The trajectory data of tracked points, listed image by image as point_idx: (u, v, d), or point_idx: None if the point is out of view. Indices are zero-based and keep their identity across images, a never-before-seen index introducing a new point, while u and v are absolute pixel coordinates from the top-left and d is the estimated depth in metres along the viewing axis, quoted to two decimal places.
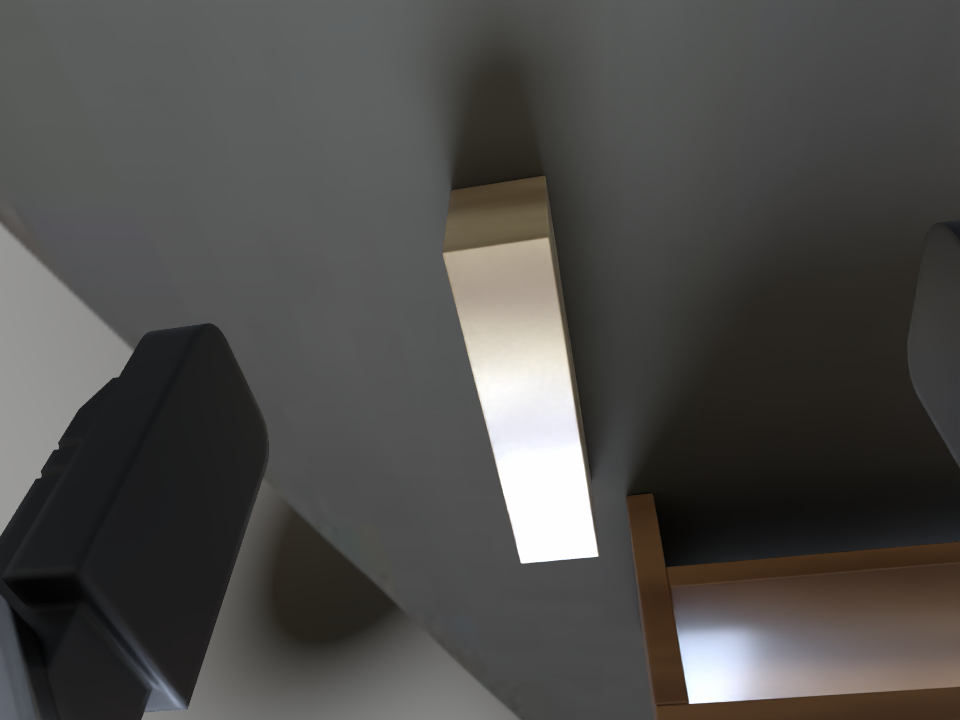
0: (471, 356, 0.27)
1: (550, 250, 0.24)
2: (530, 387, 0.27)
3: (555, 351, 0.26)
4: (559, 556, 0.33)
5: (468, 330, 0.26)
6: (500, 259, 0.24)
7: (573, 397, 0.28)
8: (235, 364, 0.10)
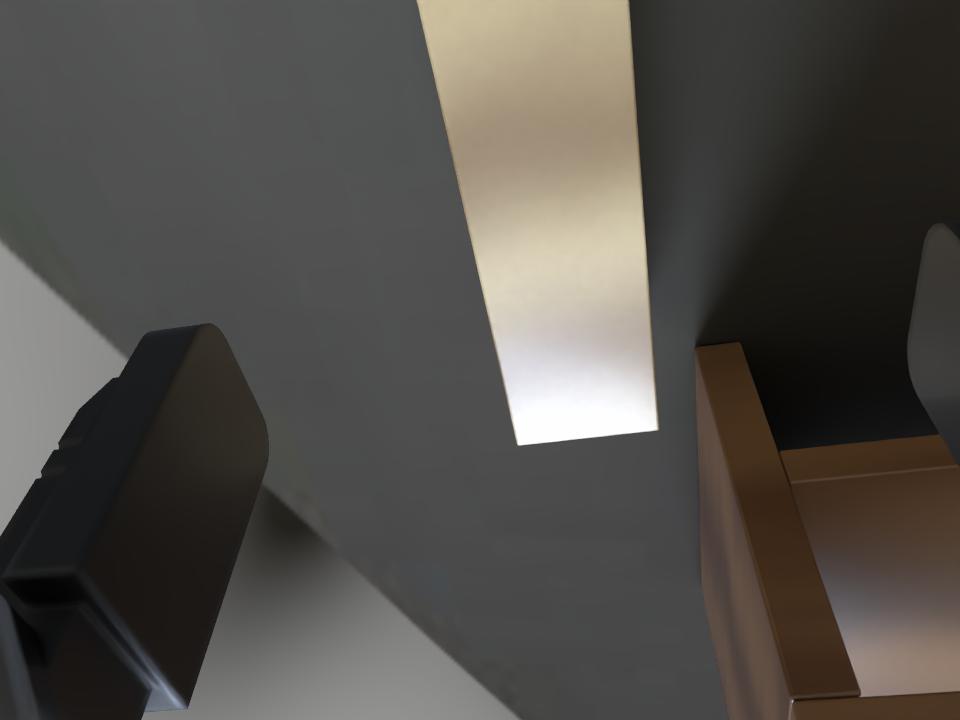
0: None
1: None
2: (535, 11, 0.13)
3: None
4: (587, 429, 0.18)
5: None
6: None
7: (629, 40, 0.13)
8: (235, 364, 0.10)
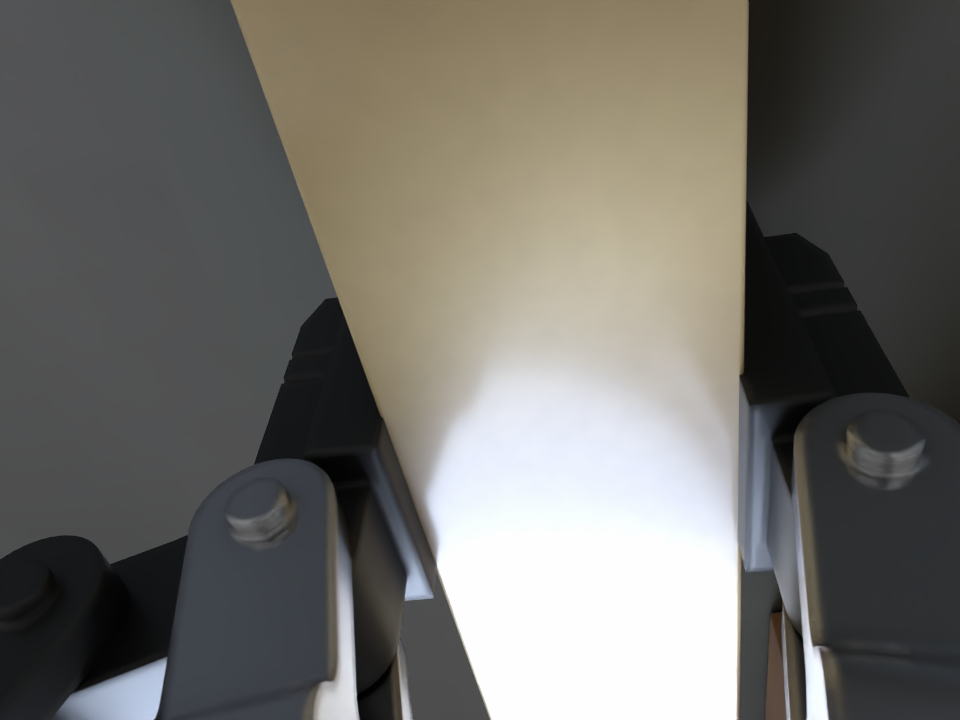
0: (305, 175, 0.06)
1: None
2: (567, 326, 0.07)
3: (695, 144, 0.06)
4: None
5: (269, 22, 0.05)
6: None
7: (740, 366, 0.07)
8: None
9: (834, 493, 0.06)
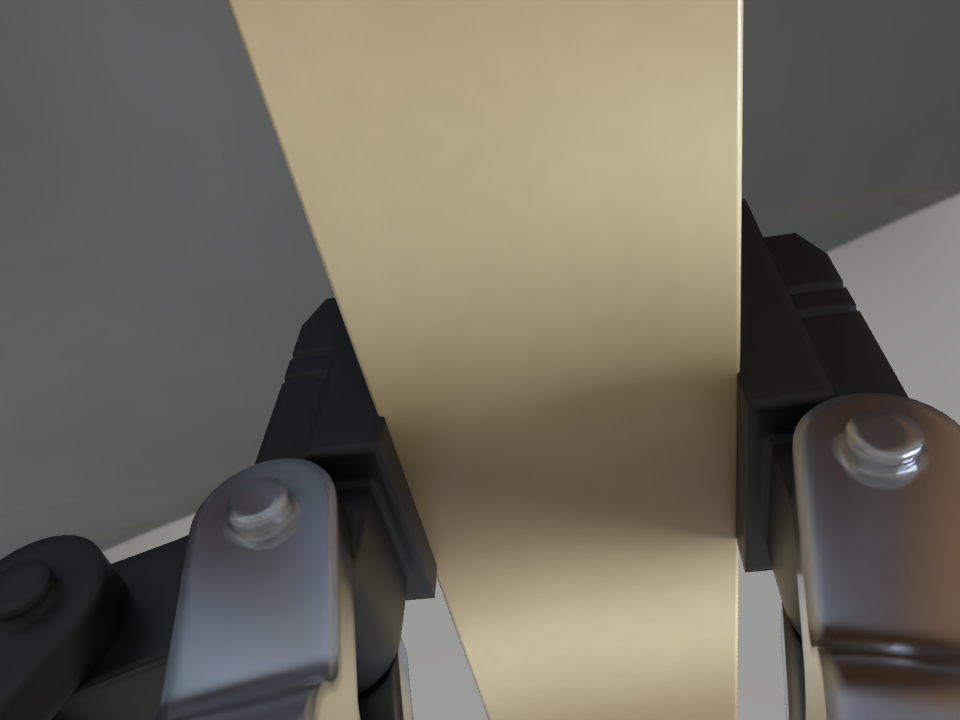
0: (304, 180, 0.06)
1: None
2: (564, 329, 0.07)
3: (688, 151, 0.06)
4: None
5: (267, 29, 0.05)
6: None
7: (736, 369, 0.07)
8: None
9: (832, 493, 0.06)
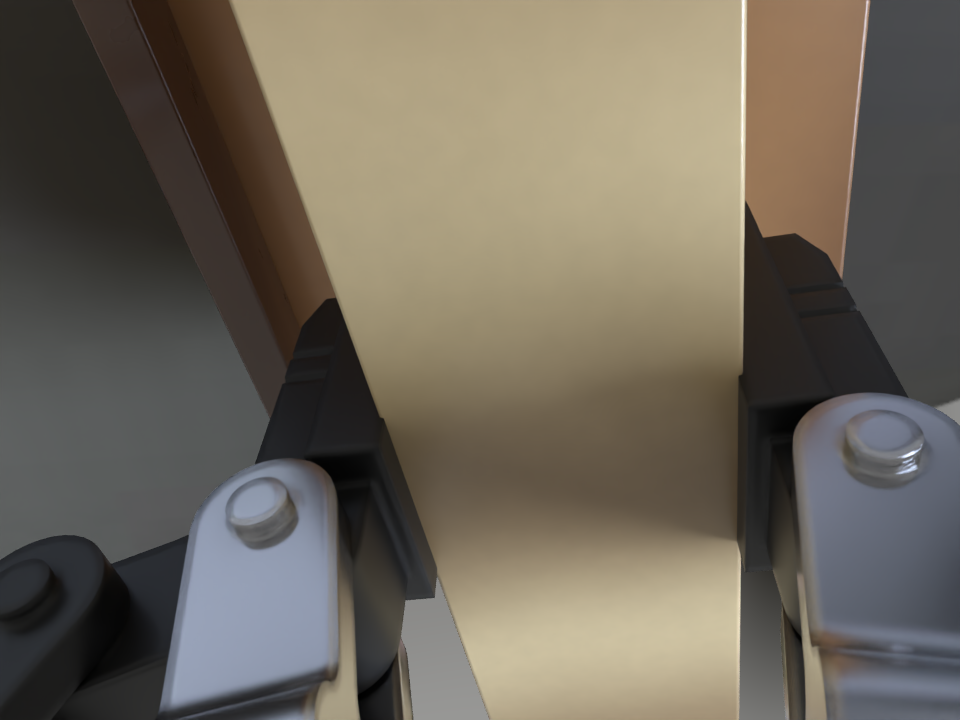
0: (306, 183, 0.06)
1: None
2: (567, 332, 0.07)
3: (693, 153, 0.06)
4: None
5: (270, 32, 0.05)
6: None
7: (739, 372, 0.07)
8: None
9: (832, 493, 0.06)
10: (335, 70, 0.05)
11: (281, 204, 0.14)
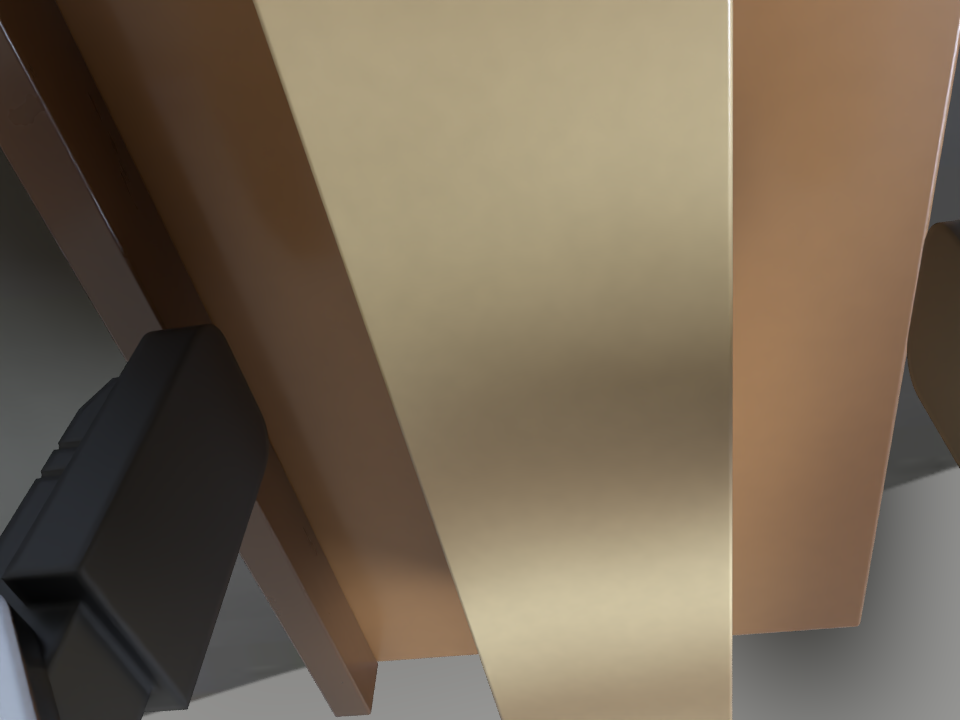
0: (317, 156, 0.06)
1: None
2: (565, 301, 0.07)
3: (683, 126, 0.06)
4: None
5: (285, 10, 0.06)
6: None
7: (729, 340, 0.07)
8: (235, 364, 0.10)
9: None
10: (345, 47, 0.06)
11: (237, 297, 0.12)
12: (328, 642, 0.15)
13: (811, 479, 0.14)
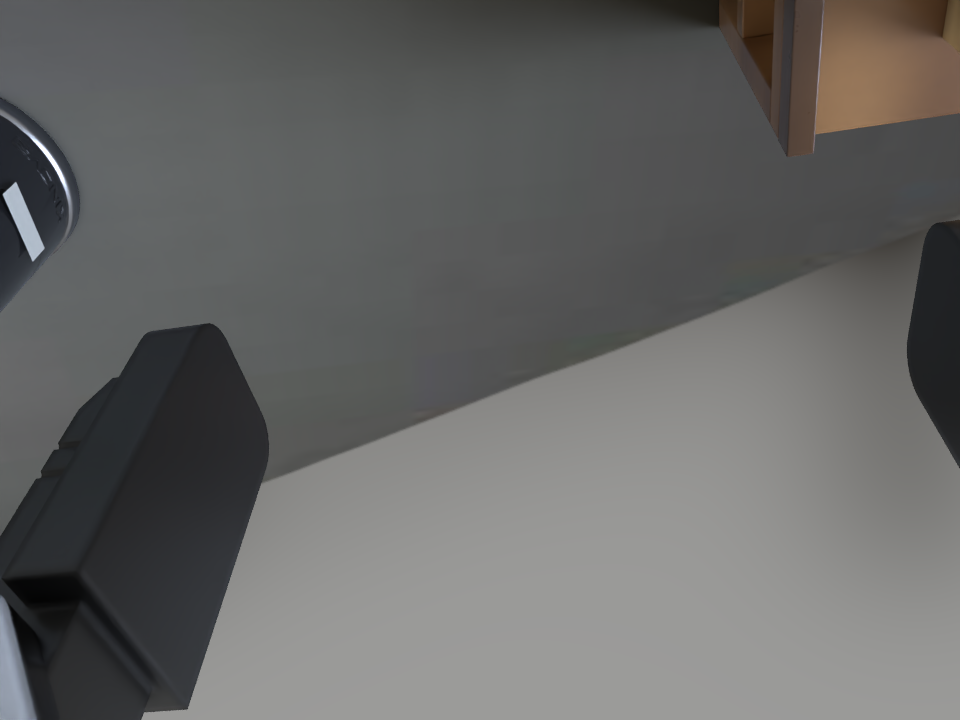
0: None
1: None
2: None
3: None
4: None
5: None
6: None
7: None
8: (235, 364, 0.10)
9: None
10: None
11: None
12: (818, 63, 0.23)
13: None
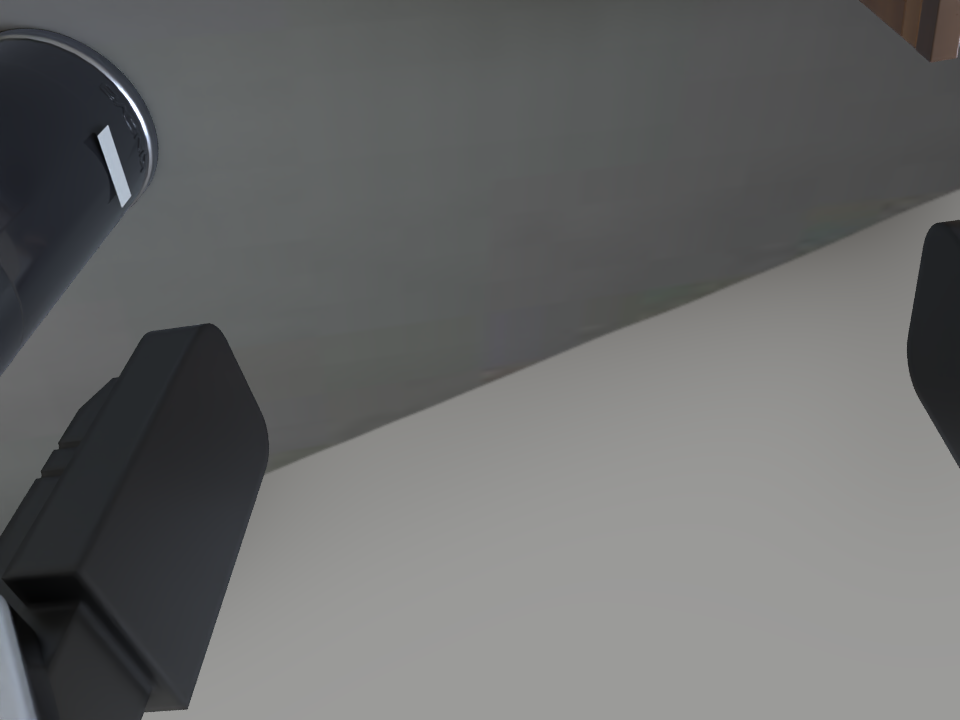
0: None
1: None
2: None
3: None
4: None
5: None
6: None
7: None
8: (235, 364, 0.10)
9: None
10: None
11: None
12: None
13: None
